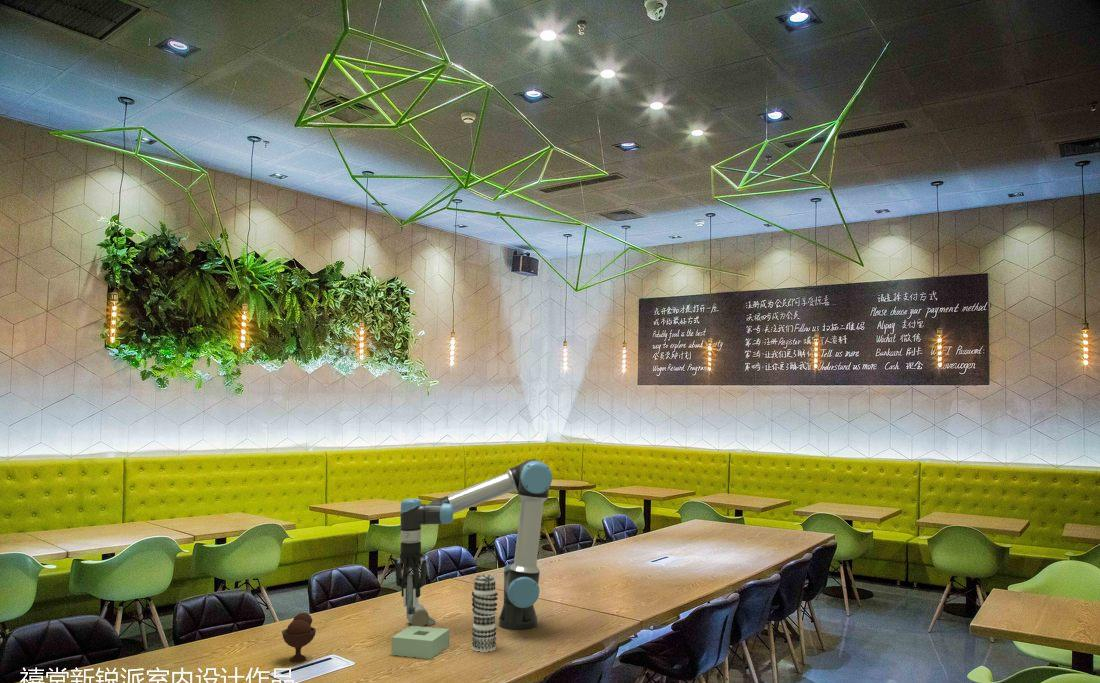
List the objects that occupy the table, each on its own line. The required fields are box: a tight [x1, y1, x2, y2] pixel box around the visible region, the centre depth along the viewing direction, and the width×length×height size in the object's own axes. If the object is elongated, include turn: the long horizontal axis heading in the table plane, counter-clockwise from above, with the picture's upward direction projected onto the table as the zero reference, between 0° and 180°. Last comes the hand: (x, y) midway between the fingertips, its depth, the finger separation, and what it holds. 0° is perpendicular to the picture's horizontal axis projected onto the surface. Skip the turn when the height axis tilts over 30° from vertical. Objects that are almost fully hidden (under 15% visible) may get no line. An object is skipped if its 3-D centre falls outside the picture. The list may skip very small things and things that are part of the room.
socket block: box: [390, 625, 451, 660], centre depth 269 cm, size 15×15×6 cm
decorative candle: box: [471, 574, 499, 653], centre depth 273 cm, size 9×9×25 cm
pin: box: [406, 573, 415, 614], centre depth 286 cm, size 3×3×14 cm
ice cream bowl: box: [281, 612, 317, 663], centre depth 259 cm, size 11×11×15 cm
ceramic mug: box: [405, 603, 436, 627], centre depth 302 cm, size 11×8×8 cm
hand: (410, 605), depth 286 cm, fingers closed on pin, 3 cm apart
